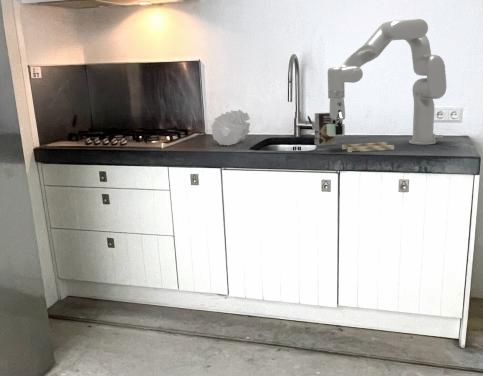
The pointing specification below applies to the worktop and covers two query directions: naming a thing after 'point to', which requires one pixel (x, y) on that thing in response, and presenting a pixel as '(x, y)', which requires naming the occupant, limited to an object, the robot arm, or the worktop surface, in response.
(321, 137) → the coffee box
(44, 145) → the worktop surface
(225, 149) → the worktop surface
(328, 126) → the sage block
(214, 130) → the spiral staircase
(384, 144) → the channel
